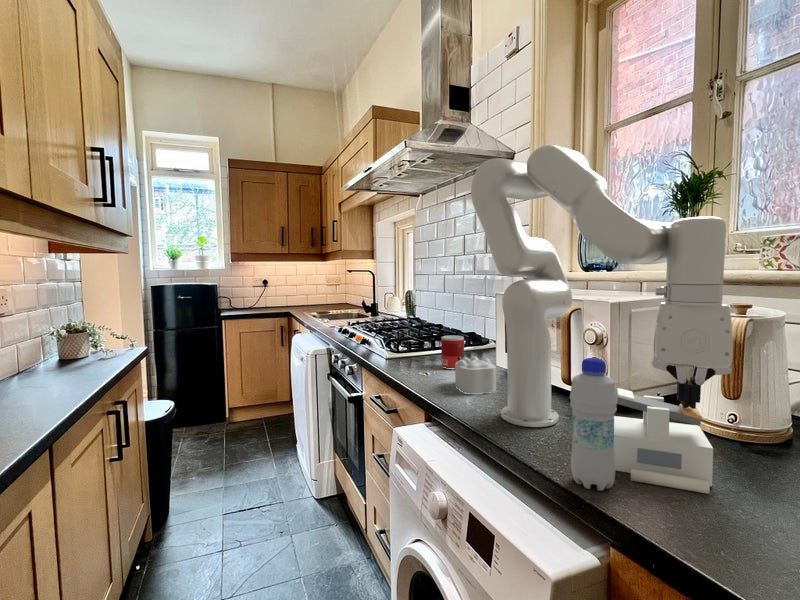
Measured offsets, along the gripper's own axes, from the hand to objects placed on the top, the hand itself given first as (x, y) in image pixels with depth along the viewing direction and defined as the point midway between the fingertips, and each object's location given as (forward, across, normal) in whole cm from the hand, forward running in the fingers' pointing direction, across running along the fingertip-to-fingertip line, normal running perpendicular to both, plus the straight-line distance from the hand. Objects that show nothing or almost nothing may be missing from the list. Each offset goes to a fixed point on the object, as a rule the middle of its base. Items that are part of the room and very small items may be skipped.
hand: (687, 405), depth 68 cm
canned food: (+13, -59, +56) cm, 82 cm away
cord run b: (+11, -3, -8) cm, 14 cm away
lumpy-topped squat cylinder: (+12, -46, +34) cm, 58 cm away
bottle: (+11, -14, -11) cm, 21 cm away
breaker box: (+11, -4, 0) cm, 12 cm away
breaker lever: (+1, -5, 0) cm, 5 cm away
